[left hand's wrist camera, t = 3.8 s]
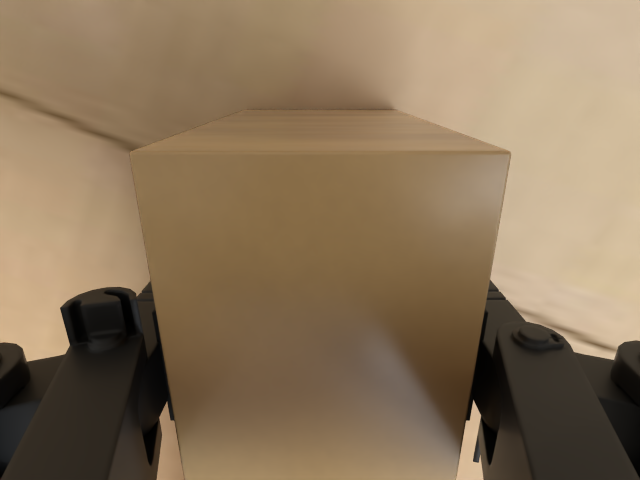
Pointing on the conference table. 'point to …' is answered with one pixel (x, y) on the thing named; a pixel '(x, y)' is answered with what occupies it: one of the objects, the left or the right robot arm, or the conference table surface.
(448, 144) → the beam
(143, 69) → the conference table surface
